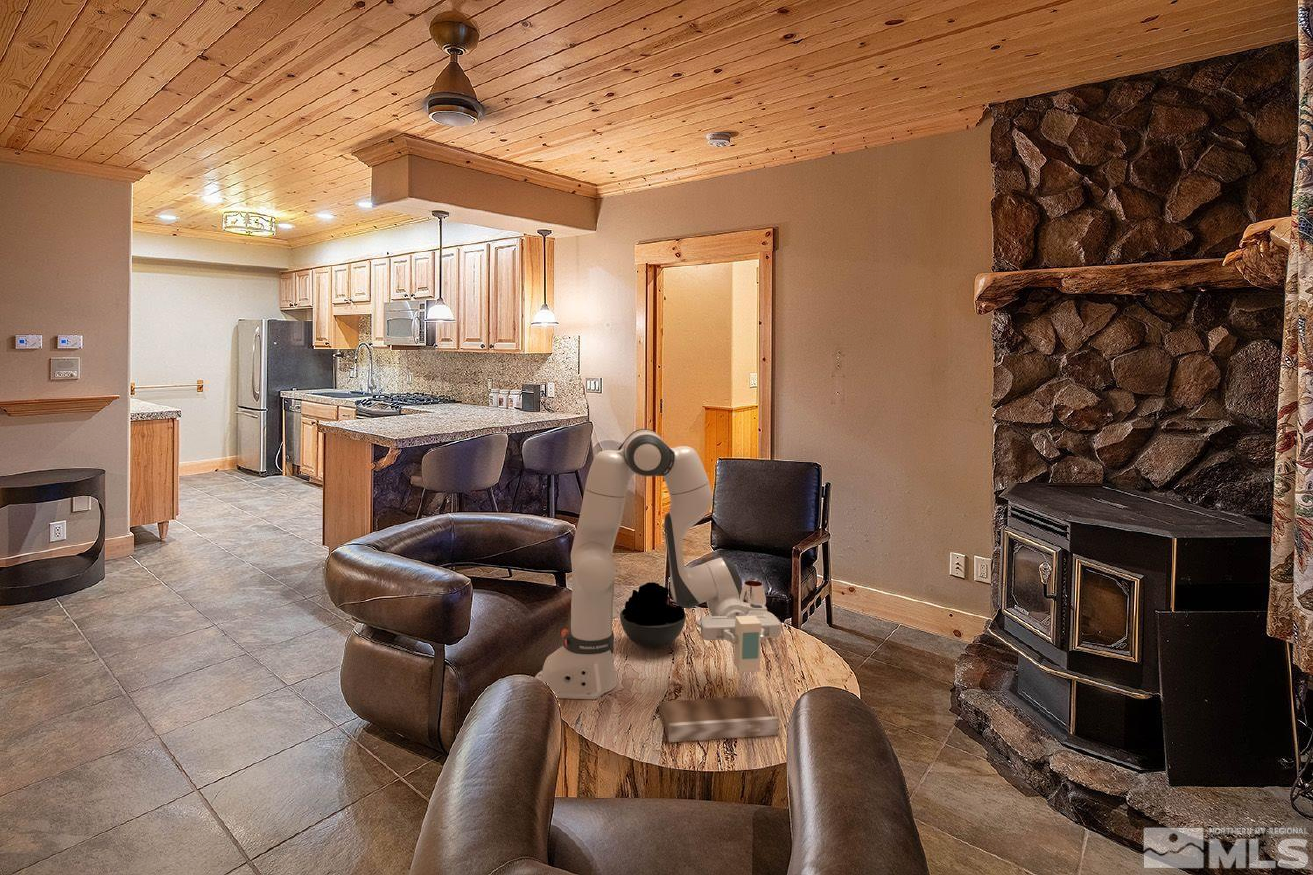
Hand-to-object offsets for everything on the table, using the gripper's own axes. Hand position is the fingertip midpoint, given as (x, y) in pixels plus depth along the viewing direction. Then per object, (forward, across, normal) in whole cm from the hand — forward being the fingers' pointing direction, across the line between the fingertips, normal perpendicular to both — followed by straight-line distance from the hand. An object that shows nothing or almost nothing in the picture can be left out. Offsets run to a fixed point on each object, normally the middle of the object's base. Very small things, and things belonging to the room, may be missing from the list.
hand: (748, 640), depth 167 cm
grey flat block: (-2, -7, +21) cm, 22 cm away
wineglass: (-49, +16, +21) cm, 56 cm away
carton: (-1, 0, +7) cm, 7 cm away
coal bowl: (-47, -16, +21) cm, 54 cm away
